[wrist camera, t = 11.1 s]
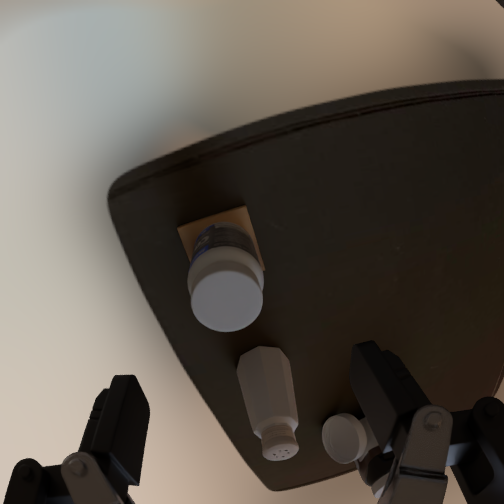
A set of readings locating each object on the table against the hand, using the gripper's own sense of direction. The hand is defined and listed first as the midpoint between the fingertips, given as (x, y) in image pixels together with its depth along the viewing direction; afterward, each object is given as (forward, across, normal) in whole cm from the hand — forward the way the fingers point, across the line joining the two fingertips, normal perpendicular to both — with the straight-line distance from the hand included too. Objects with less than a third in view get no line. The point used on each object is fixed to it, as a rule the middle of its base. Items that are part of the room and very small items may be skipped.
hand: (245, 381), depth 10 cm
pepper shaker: (+16, -1, +14) cm, 21 cm away
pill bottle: (+15, +1, 0) cm, 15 cm away
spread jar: (+16, -13, +28) cm, 35 cm away
